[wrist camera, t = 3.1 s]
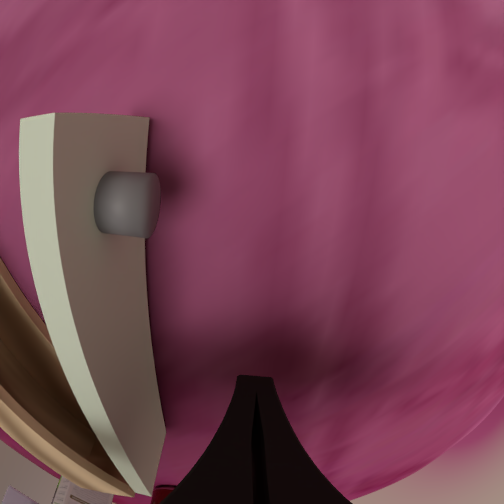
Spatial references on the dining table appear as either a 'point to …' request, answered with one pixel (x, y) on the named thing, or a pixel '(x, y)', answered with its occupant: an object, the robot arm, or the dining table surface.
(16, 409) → the cabinet
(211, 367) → the dining table surface
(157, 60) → the dining table surface
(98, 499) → the syrup box
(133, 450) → the cabinet door
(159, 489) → the soda can
